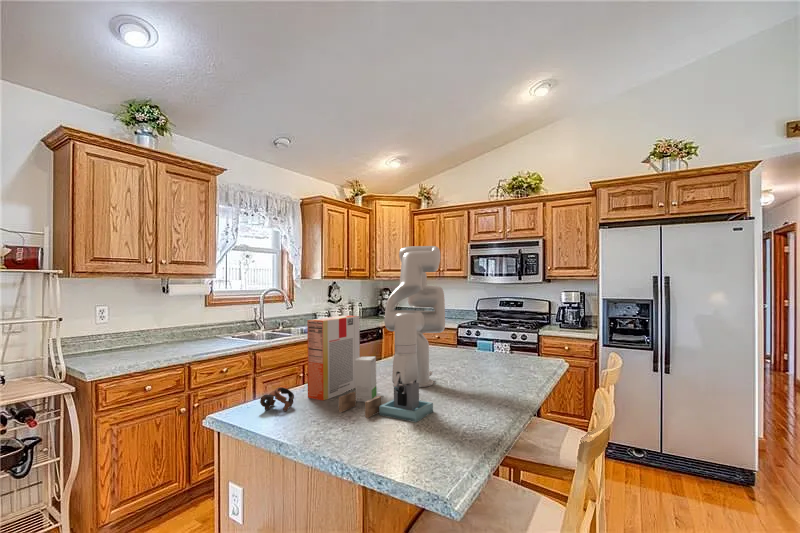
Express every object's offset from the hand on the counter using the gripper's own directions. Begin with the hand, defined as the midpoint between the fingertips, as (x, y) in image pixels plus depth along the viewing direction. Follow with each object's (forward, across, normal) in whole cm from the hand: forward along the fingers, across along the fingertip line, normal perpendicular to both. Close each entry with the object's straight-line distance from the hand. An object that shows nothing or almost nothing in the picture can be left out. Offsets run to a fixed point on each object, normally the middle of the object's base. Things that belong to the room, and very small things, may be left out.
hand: (406, 402), depth 137 cm
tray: (+4, 0, 0) cm, 4 cm away
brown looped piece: (+4, +19, -43) cm, 47 cm away
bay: (+4, +6, -15) cm, 17 cm away
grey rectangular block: (+2, 0, 0) cm, 2 cm away
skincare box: (+4, -7, -22) cm, 23 cm away
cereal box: (+4, -9, -39) cm, 40 cm away
